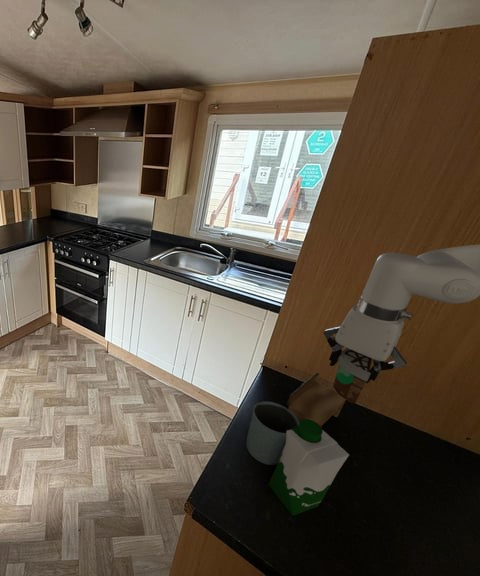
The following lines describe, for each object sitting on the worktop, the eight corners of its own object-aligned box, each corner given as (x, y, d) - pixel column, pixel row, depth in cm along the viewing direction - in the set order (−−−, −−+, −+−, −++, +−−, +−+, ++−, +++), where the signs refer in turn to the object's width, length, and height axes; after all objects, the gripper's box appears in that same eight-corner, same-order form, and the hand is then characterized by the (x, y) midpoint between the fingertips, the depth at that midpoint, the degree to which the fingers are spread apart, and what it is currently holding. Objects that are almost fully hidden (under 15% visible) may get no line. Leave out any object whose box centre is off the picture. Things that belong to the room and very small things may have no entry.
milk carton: (291, 471, 76) (317, 413, 67) (325, 510, 68) (359, 450, 59) (261, 481, 74) (284, 422, 65) (292, 522, 66) (323, 461, 57)
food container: (332, 369, 85) (344, 339, 80) (360, 380, 81) (375, 348, 77) (323, 394, 77) (336, 362, 72) (354, 407, 73) (370, 374, 68)
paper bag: (338, 415, 91) (350, 390, 87) (313, 443, 83) (325, 416, 78) (306, 397, 98) (316, 372, 93) (280, 421, 89) (289, 395, 85)
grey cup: (237, 450, 81) (247, 418, 75) (249, 426, 88) (259, 394, 82) (280, 476, 75) (295, 442, 70) (290, 447, 82) (303, 414, 76)
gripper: (437, 320, 64) (400, 386, 72) (340, 290, 77) (317, 348, 85) (428, 332, 60) (389, 400, 68) (327, 298, 73) (305, 359, 81)
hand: (350, 371), depth 76 cm, fingers closed on food container, 6 cm apart
